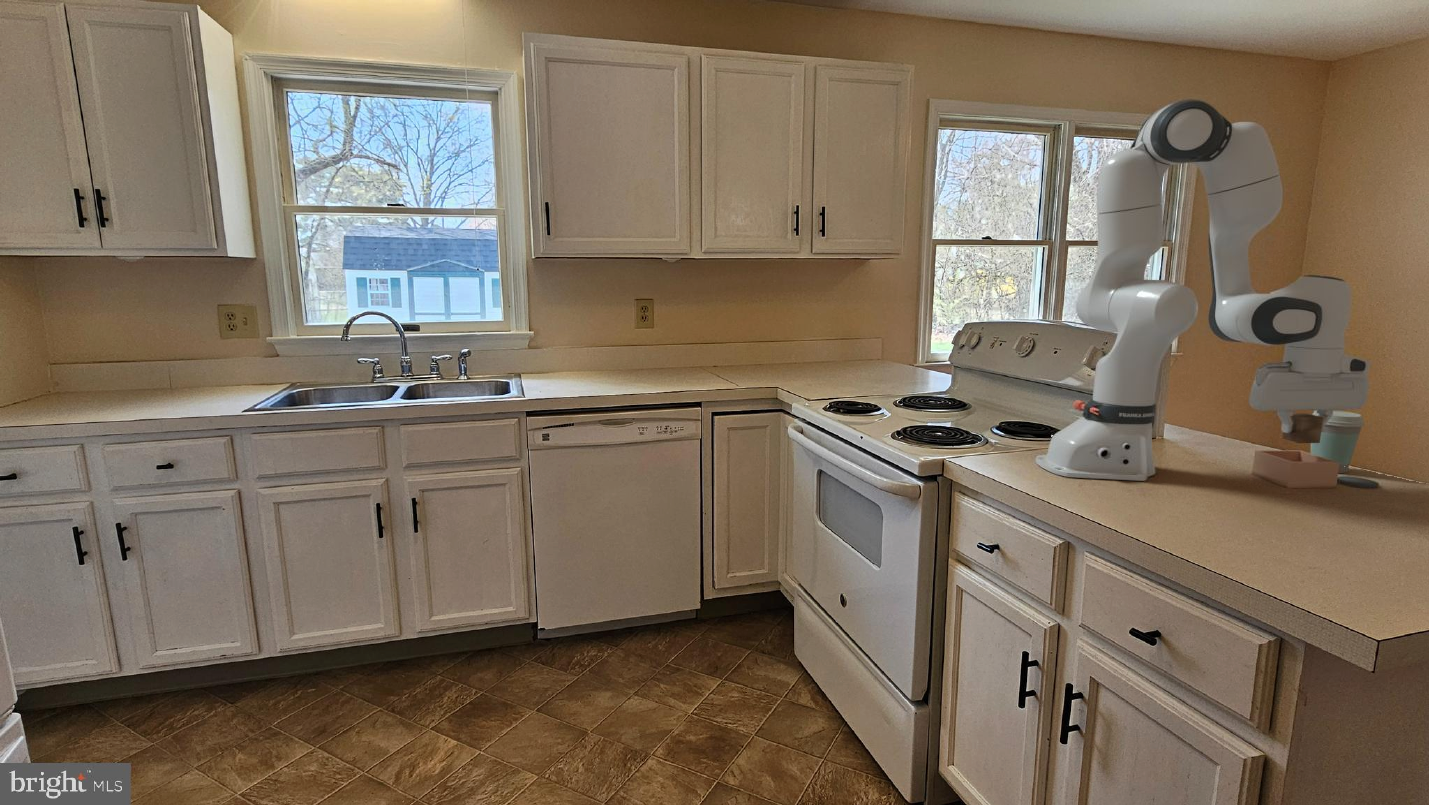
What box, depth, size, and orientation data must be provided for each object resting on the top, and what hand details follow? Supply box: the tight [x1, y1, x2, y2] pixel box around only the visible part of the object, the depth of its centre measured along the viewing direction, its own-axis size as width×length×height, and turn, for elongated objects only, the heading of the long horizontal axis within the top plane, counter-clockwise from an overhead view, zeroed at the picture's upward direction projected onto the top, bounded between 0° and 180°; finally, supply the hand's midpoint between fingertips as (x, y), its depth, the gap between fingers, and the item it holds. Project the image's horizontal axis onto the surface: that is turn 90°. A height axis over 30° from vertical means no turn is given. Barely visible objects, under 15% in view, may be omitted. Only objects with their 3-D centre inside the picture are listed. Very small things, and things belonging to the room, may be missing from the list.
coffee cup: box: [1310, 410, 1365, 474], centre depth 148 cm, size 9×8×12 cm
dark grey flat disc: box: [1337, 475, 1379, 490], centre depth 139 cm, size 6×6×1 cm
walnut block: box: [1282, 412, 1323, 444], centre depth 139 cm, size 4×4×5 cm
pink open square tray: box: [1251, 449, 1340, 489], centre depth 140 cm, size 9×9×5 cm
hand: (1302, 432), depth 139 cm, fingers closed on walnut block, 4 cm apart
